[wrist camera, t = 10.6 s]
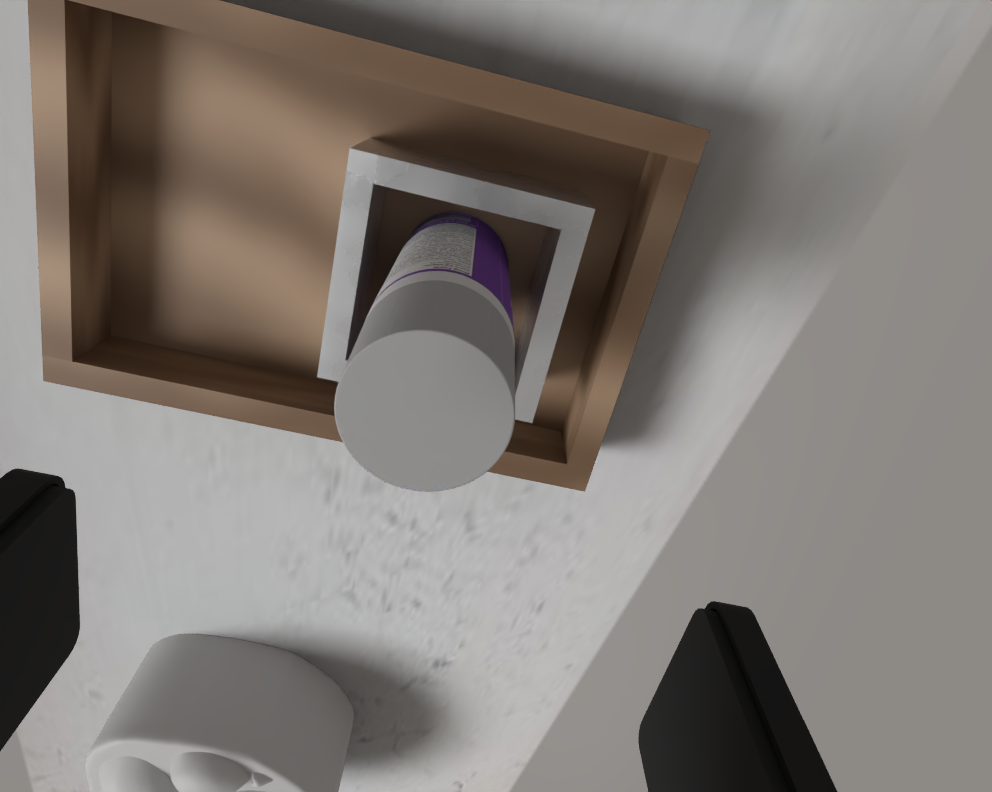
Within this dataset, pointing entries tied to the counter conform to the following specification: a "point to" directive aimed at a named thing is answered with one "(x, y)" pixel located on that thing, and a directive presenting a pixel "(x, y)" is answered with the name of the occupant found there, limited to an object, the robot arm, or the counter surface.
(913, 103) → the counter surface
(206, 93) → the walled tray
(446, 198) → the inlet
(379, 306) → the container
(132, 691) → the lumpy-topped squat cylinder
